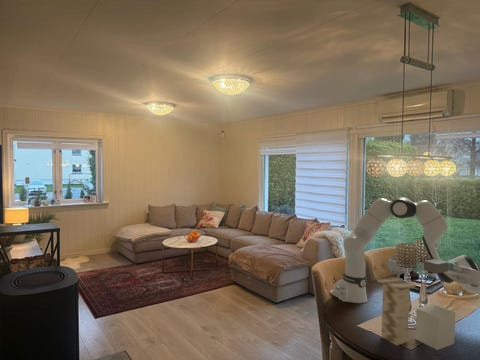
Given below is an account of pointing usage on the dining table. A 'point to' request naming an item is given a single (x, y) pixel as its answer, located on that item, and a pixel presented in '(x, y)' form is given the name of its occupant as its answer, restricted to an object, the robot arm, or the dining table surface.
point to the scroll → (412, 274)
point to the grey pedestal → (435, 326)
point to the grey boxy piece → (438, 265)
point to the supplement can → (431, 274)
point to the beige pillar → (395, 309)
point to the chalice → (394, 267)
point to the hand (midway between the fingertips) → (448, 264)
